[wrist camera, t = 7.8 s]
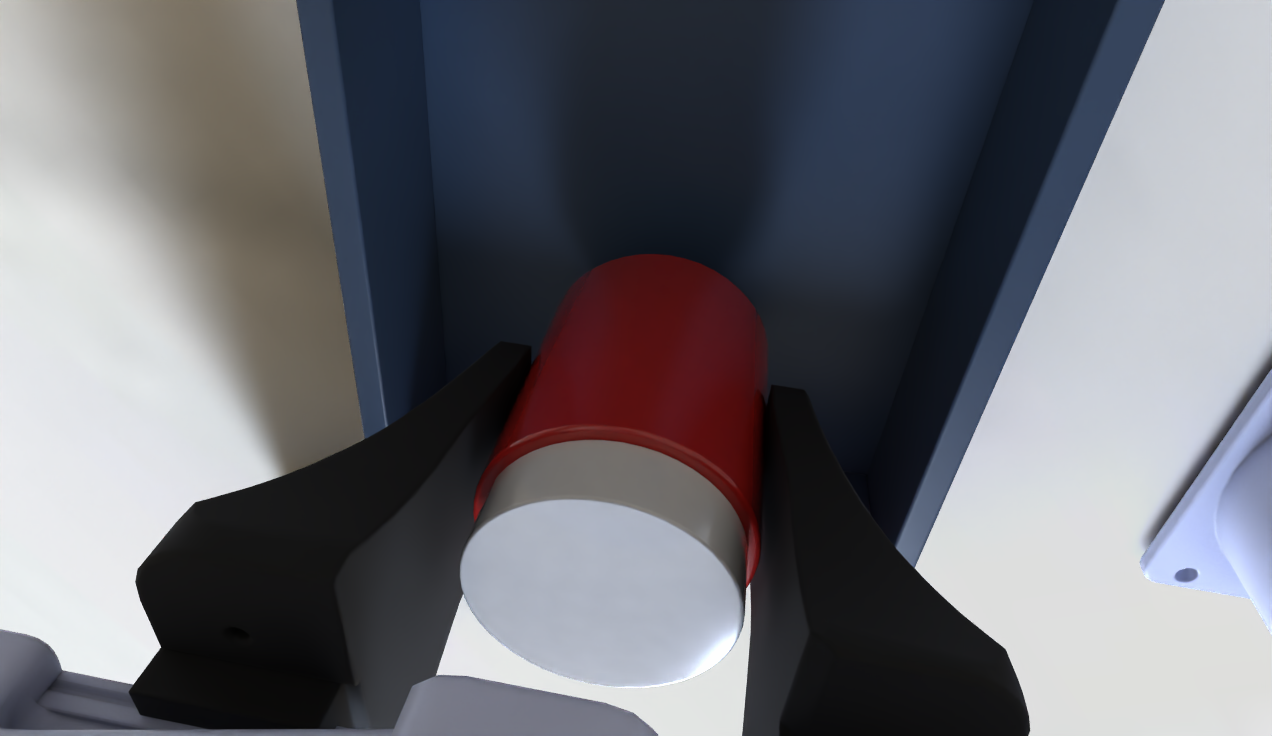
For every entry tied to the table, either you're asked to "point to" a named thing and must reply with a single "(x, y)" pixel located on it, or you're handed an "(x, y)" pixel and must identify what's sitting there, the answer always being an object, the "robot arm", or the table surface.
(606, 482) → the salt shaker
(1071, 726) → the table surface
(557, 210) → the bin
